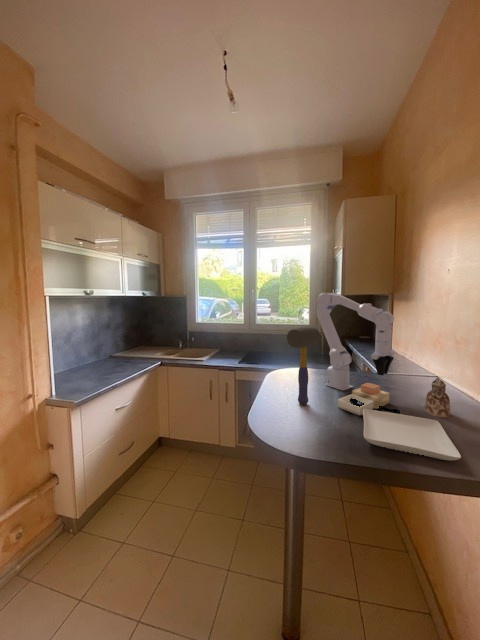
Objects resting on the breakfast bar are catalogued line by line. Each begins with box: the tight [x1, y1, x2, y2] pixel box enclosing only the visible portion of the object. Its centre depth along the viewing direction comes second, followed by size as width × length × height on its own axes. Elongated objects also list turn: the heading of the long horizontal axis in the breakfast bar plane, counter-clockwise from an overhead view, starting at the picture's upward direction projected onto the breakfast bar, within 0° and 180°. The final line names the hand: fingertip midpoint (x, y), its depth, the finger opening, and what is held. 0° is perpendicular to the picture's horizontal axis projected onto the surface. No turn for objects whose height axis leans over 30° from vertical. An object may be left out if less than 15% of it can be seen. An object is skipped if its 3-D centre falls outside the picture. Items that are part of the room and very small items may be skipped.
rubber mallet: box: [286, 326, 321, 406], centre depth 98 cm, size 12×8×30 cm, turn 128°
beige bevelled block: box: [351, 386, 390, 409], centre depth 101 cm, size 10×9×4 cm
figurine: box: [423, 377, 451, 418], centre depth 90 cm, size 7×7×12 cm
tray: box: [336, 393, 374, 417], centre depth 95 cm, size 9×9×3 cm
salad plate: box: [362, 409, 462, 461], centre depth 74 cm, size 21×21×3 cm
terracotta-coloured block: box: [360, 382, 381, 395], centre depth 100 cm, size 5×5×2 cm
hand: (382, 374), depth 105 cm, fingers closed
